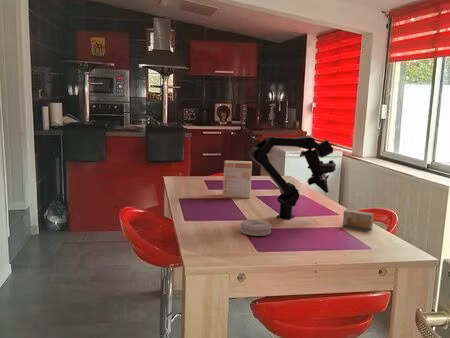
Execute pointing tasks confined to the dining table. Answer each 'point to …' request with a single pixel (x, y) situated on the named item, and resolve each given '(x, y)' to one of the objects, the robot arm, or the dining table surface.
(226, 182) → the coffeecake box
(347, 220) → the skincare box
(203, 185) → the dining table surface
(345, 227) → the pad
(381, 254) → the dining table surface
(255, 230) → the lid
